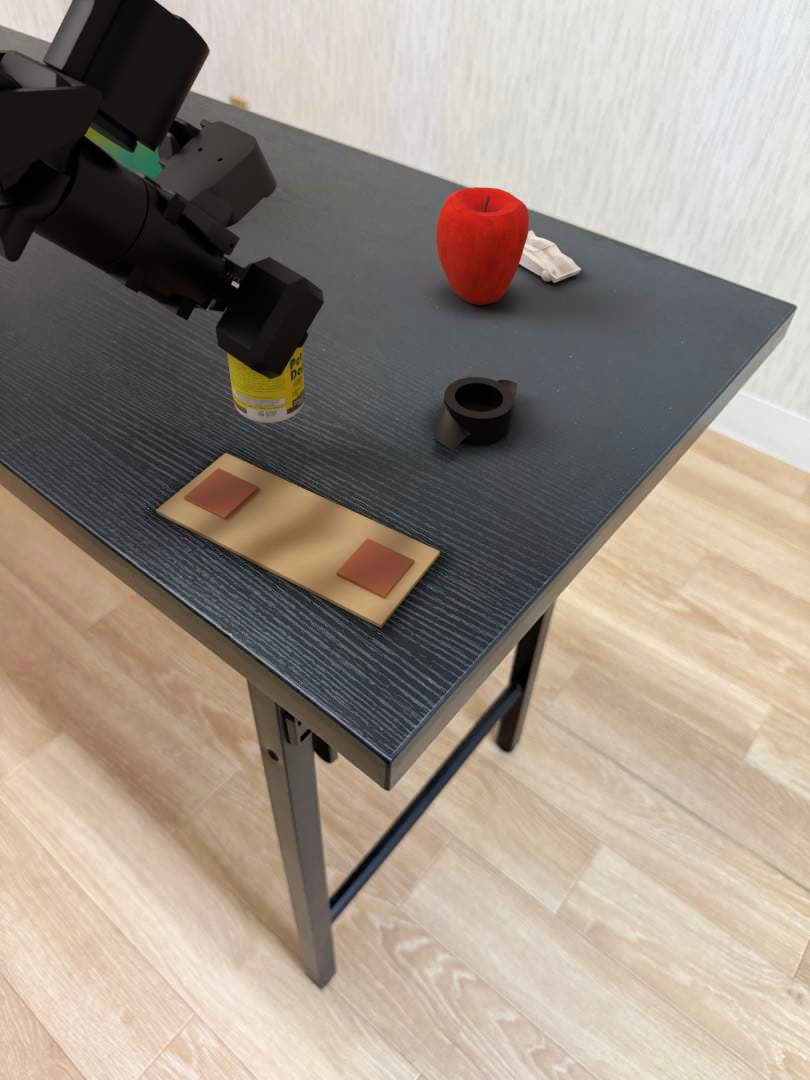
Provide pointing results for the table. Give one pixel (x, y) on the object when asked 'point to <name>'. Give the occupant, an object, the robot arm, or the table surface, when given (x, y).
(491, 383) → the black hollow round piece
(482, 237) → the apple
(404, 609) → the table surface
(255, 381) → the supplement bottle
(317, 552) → the wood board
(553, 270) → the toy car
